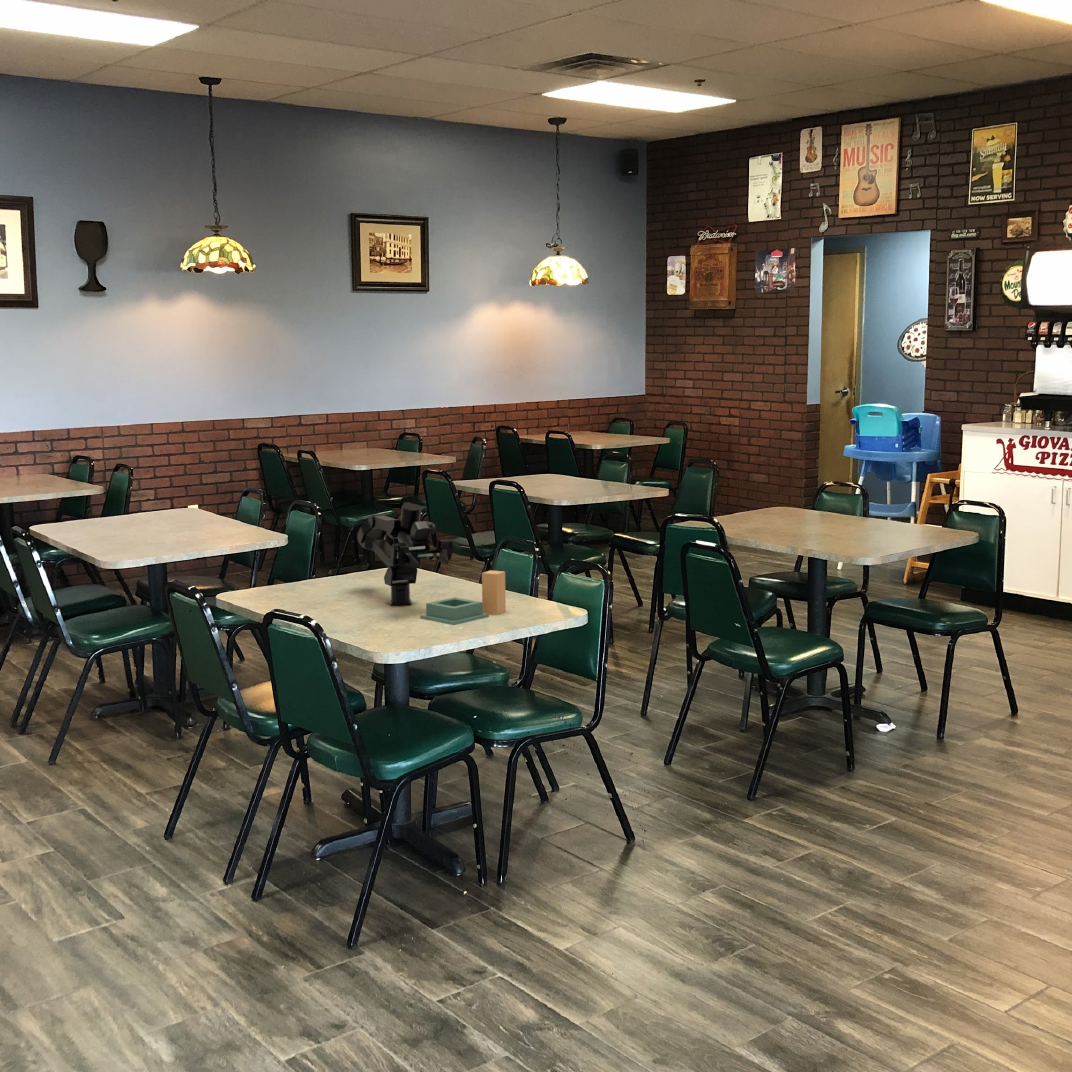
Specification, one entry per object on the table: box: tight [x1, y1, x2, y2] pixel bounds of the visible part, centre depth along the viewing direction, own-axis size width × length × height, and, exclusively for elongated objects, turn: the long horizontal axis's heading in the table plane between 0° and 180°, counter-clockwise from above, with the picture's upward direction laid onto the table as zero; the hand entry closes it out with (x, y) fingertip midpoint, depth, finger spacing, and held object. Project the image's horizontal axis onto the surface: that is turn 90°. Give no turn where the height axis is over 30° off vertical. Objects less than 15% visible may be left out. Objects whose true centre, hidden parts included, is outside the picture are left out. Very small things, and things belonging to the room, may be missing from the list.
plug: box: [481, 569, 507, 616], centre depth 356 cm, size 5×5×12 cm
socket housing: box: [419, 597, 490, 626], centre depth 350 cm, size 14×14×4 cm
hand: (433, 564), depth 348 cm, fingers open, 9 cm apart
